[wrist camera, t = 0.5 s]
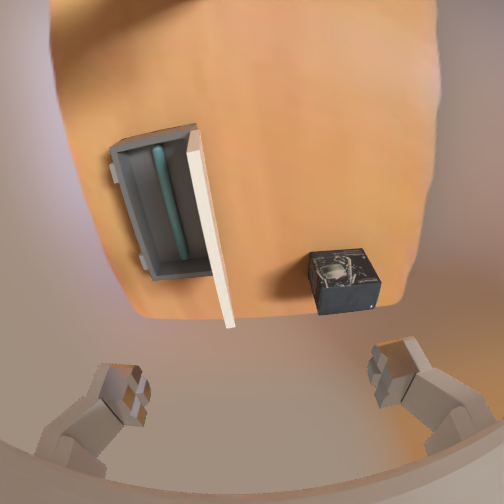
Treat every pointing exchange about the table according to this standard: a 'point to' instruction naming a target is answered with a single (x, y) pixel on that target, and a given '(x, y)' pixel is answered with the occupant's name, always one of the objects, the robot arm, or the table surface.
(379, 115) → the table surface
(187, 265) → the trough
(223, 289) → the cover
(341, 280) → the box
